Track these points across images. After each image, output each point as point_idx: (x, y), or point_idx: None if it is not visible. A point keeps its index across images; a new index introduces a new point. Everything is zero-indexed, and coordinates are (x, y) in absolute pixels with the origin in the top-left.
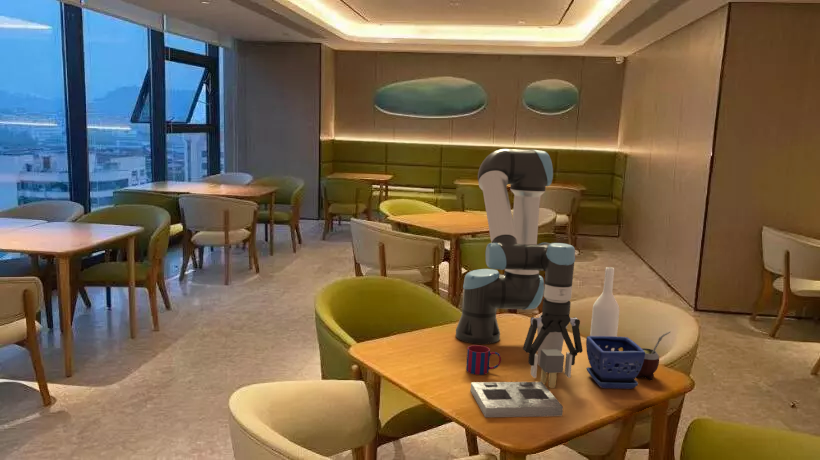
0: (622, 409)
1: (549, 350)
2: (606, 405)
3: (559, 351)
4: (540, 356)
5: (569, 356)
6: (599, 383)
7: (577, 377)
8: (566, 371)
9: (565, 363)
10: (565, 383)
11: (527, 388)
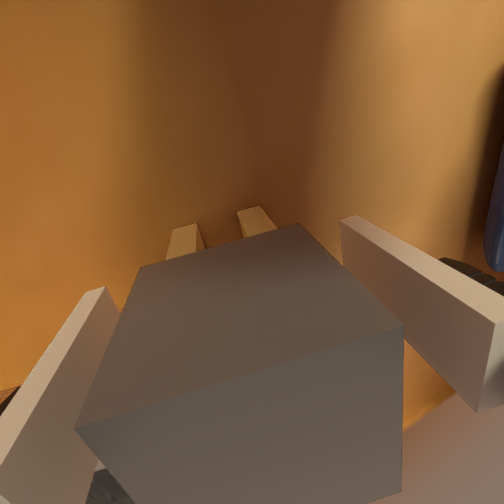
0: (454, 392)
1: (240, 420)
2: (416, 383)
3: (396, 400)
4: (115, 335)
5: (464, 393)
6: (491, 266)
7: (426, 90)
8: (356, 261)
9: (387, 257)
10: (321, 215)
11: (98, 466)
